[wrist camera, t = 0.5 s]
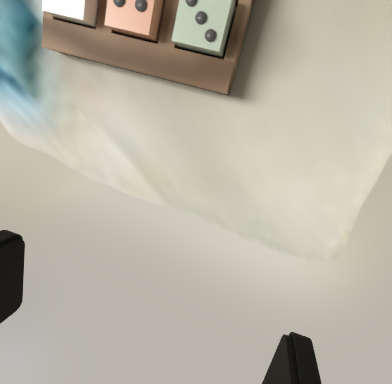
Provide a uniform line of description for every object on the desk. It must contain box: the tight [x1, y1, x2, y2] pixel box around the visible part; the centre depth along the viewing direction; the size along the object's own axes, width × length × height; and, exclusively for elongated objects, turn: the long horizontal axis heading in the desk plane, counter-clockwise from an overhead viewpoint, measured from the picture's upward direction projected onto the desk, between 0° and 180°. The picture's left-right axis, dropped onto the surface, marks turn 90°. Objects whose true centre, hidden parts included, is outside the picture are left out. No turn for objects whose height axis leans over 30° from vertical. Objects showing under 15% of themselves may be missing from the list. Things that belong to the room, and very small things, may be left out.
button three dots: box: [171, 0, 236, 58], centre depth 28 cm, size 5×5×3 cm
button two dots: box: [104, 0, 165, 42], centre depth 29 cm, size 5×5×3 cm
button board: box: [42, 0, 254, 95], centre depth 31 cm, size 12×23×2 cm, turn 76°
